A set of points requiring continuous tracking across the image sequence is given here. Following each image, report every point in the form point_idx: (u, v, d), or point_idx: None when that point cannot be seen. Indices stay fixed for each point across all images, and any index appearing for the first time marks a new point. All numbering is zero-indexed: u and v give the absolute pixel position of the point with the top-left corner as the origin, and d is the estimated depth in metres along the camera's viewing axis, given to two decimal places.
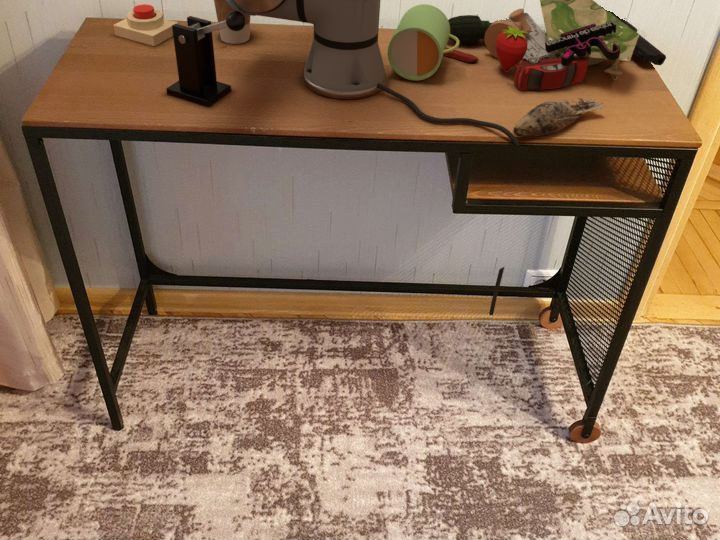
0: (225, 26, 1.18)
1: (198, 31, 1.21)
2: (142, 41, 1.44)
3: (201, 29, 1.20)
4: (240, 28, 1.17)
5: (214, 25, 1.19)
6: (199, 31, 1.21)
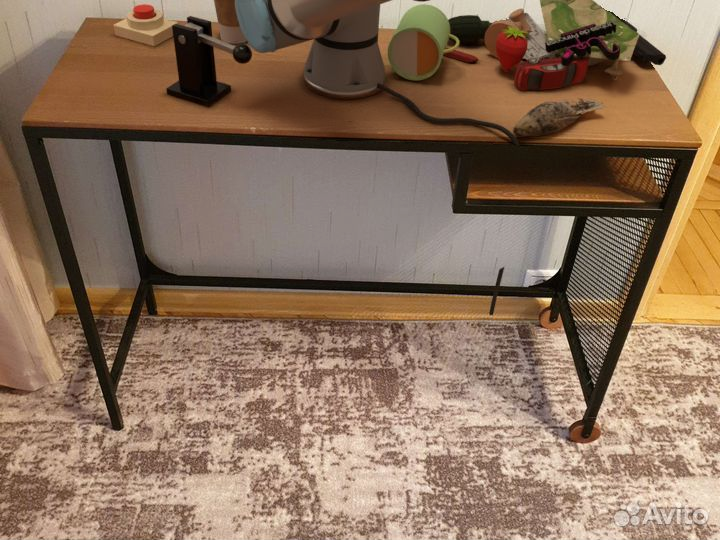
0: (230, 52, 1.20)
1: (200, 37, 1.22)
2: (142, 41, 1.44)
3: (204, 38, 1.21)
4: (244, 63, 1.20)
5: (219, 44, 1.21)
6: (201, 38, 1.22)
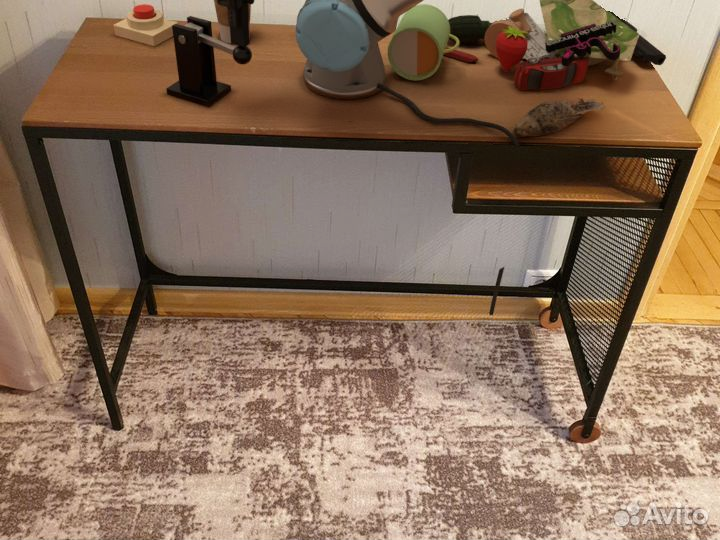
0: (230, 53, 1.20)
1: (200, 37, 1.22)
2: (142, 41, 1.44)
3: (204, 38, 1.21)
4: (244, 63, 1.20)
5: (219, 44, 1.21)
6: (201, 38, 1.22)
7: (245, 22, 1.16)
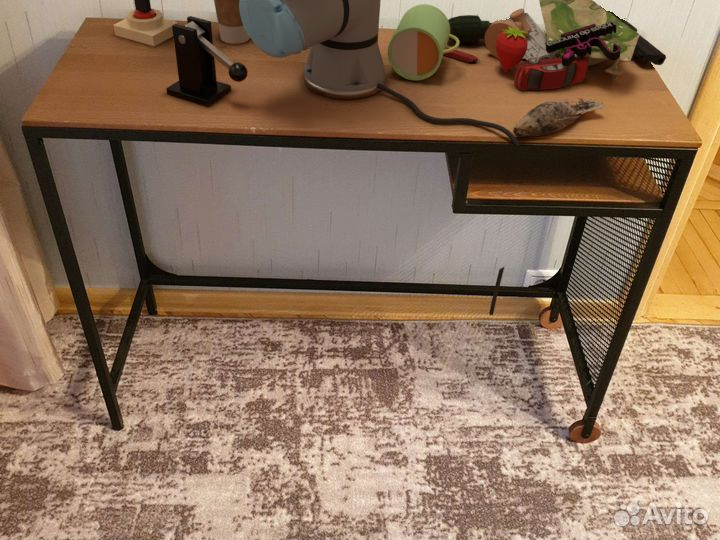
0: (226, 66, 1.23)
1: (199, 41, 1.22)
2: (142, 41, 1.44)
3: (204, 43, 1.22)
4: (237, 81, 1.23)
5: (217, 55, 1.22)
6: (200, 42, 1.22)
7: None
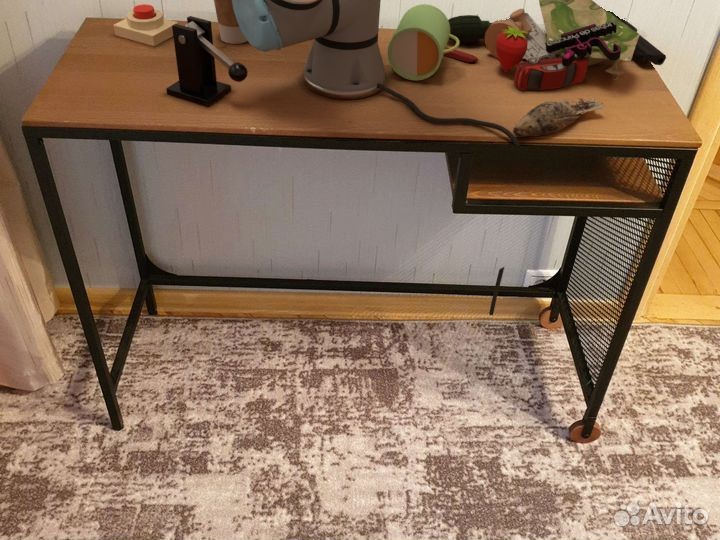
0: (226, 66, 1.23)
1: (199, 41, 1.22)
2: (142, 41, 1.44)
3: (204, 43, 1.22)
4: (237, 81, 1.23)
5: (217, 55, 1.22)
6: (200, 42, 1.22)
7: None
